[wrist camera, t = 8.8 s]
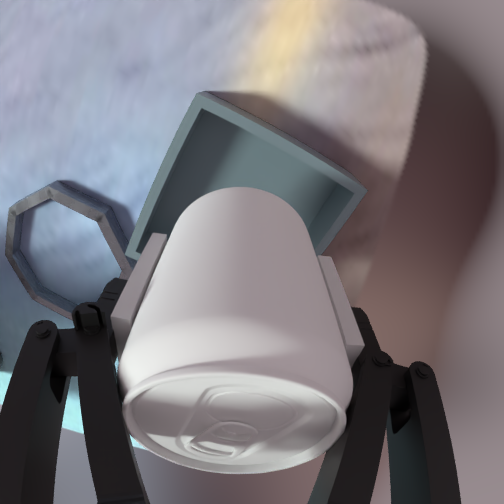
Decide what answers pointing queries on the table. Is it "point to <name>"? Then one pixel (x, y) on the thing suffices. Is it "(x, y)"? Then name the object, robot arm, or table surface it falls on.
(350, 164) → the table surface
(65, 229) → the table surface
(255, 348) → the beverage can
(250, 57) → the table surface
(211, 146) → the bin
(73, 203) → the collar
